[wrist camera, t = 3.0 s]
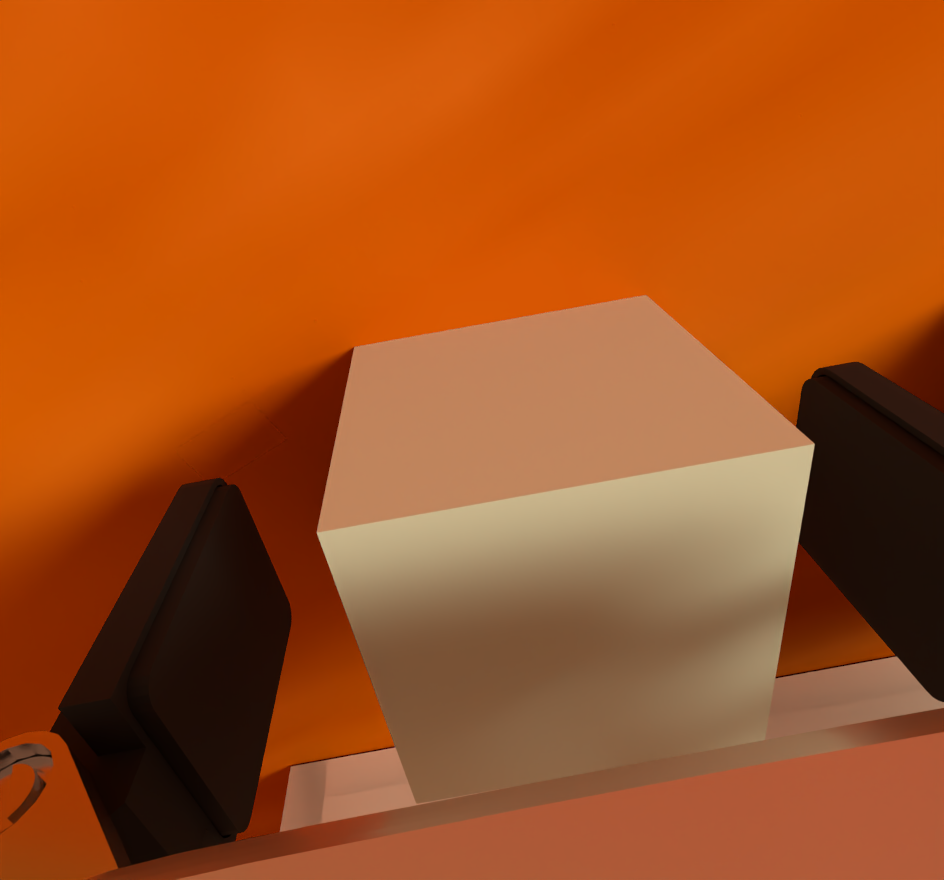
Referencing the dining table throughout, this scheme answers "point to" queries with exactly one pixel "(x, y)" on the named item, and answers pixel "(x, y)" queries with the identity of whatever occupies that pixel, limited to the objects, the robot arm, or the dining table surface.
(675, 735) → the beige cube
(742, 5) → the dining table surface
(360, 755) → the tote
